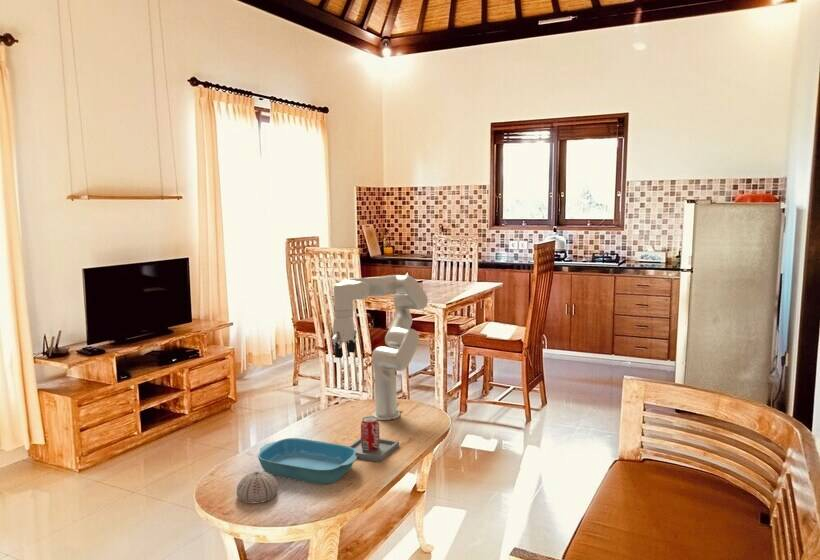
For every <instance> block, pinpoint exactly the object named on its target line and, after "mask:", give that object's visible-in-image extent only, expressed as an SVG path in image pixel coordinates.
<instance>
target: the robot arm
mask: <svg viewBox="0 0 820 560" xmlns="http://www.w3.org/2000/svg"><path fill="white" fill-rule="evenodd" d="M390 295H393V304H394V309H395V310H394V312H395V313H394V314H395V316H394V318H393V320H392V322H391V324H390V326H389V328H388V330H387V332H386V334H385V336H384V342H385V345H386V346H384V345H383V346H382V345H381V346H378V347H376V348H375V349H373V351H372V354H371V361H372V362H371V363H372V367H373V374H374V405H375V410H374V411H372V414H371V416H372V417H376V418H377V420H378V421H390V420H391V419H393V420H396V419H398V418H399V417H400V416H401V413H400V412H401V411H400V410H398V409H397V408H398V407H399V406H400V402H399V401H397V375H396V373H395V371H396V372H397V371H398V372H402V371H405V370H406V369H407V368H408V367H409V365H410V363H411V362H412V359H413V357H414V355H415V353H416V351H417V349H418V347H419V343H420V335H419V333H418V332H417V330H416V329H413V328H411V327H412V325H413V317H412V314H411V311H410V310H419V311H422V310H424V309H425V308H426V307H427V305H428V301H429V300H428V296H427V293H426V292H425V290H424V289H423V287H422V286H421V285H420V283H418V281H417V280H416V279H415V278H414V277H412V276H410V275H402V274H390V275H389V274H388V275H383V276H382V275H381V276H372V277H369V276H368V277H362V278H359V277H358V278H351V279H350V278H349V279H343V280H341V281H340V282H339V283H338V282H337V283H335V284H334V286H333V305H334V306H333V307H334V308H333V309H334V312H333V313H334V318H333V324H332V337H331V342H332V343H331V344H332V346H333V348H334V358H337V359H342V358H343V348H342V346H343V344H344V343H346V342H347V352H348V353H353V354H355V352H356V346H355V345H356V344H355V343H356V339H357V330H356V329H355V321H354V301H355V300H364V299H367V298H368V297H383V296H390Z"/></svg>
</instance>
